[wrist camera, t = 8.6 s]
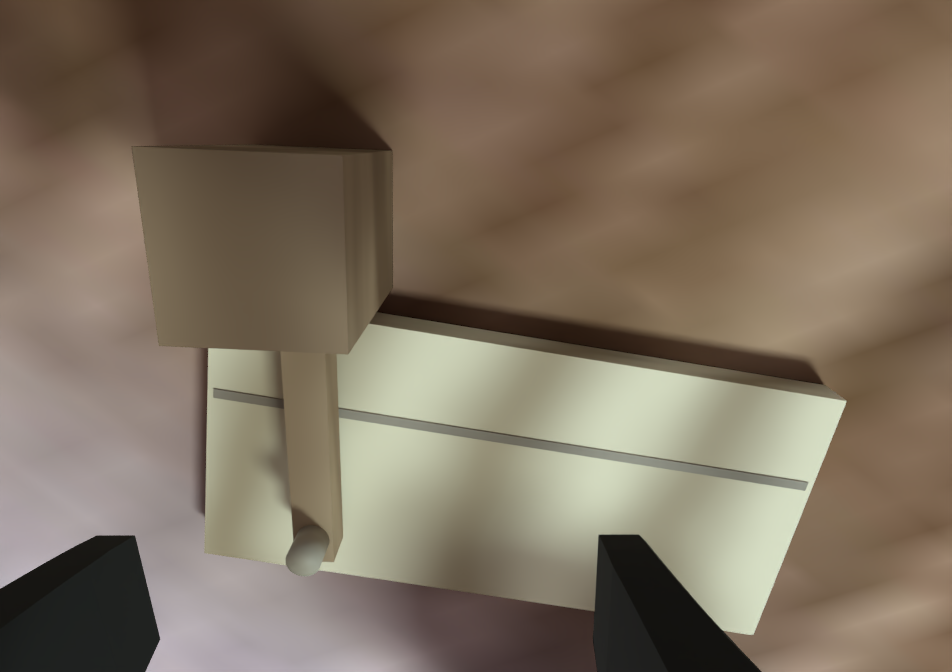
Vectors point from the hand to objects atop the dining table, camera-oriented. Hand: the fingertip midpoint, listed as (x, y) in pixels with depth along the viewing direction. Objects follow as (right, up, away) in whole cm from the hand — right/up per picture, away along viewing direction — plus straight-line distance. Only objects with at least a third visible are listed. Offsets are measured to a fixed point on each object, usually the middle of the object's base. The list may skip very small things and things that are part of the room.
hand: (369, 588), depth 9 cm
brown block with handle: (-3, +4, +10) cm, 11 cm away
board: (+3, 0, +11) cm, 11 cm away
